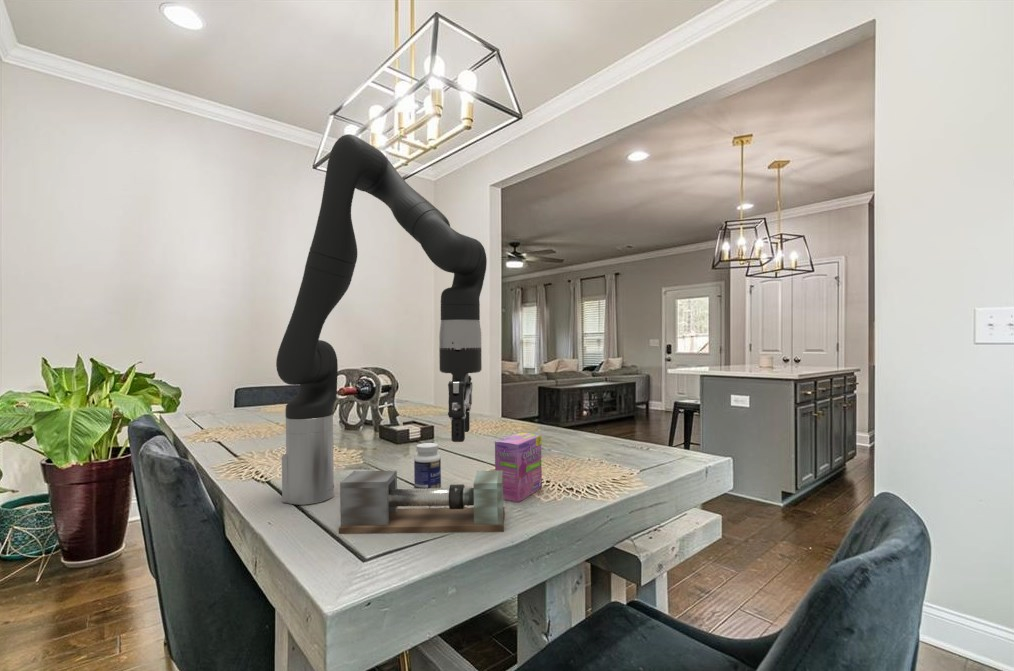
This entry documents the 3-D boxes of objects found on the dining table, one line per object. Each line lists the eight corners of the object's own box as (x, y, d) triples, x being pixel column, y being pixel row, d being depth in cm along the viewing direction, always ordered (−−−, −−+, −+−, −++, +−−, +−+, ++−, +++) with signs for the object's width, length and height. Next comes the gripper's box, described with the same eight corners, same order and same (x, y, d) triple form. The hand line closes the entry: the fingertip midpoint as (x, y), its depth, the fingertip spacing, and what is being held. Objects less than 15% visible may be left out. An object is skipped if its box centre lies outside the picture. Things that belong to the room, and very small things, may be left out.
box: (518, 503, 94) (517, 443, 94) (494, 498, 97) (493, 440, 97) (543, 488, 102) (541, 434, 103) (520, 485, 105) (519, 432, 106)
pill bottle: (435, 495, 99) (434, 448, 99) (410, 494, 100) (409, 447, 101) (444, 487, 105) (443, 442, 105) (420, 485, 106) (419, 441, 106)
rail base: (338, 533, 80) (338, 484, 80) (356, 514, 89) (355, 469, 89) (503, 531, 79) (502, 481, 80) (504, 512, 88) (503, 467, 89)
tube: (387, 513, 82) (386, 489, 82) (393, 505, 86) (392, 482, 86) (490, 512, 82) (489, 488, 82) (491, 504, 86) (490, 480, 86)
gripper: (445, 345, 92) (445, 429, 91) (432, 346, 77) (433, 445, 77) (483, 345, 92) (484, 429, 91) (478, 346, 77) (479, 445, 77)
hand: (461, 436), depth 84 cm, fingers open, 8 cm apart
